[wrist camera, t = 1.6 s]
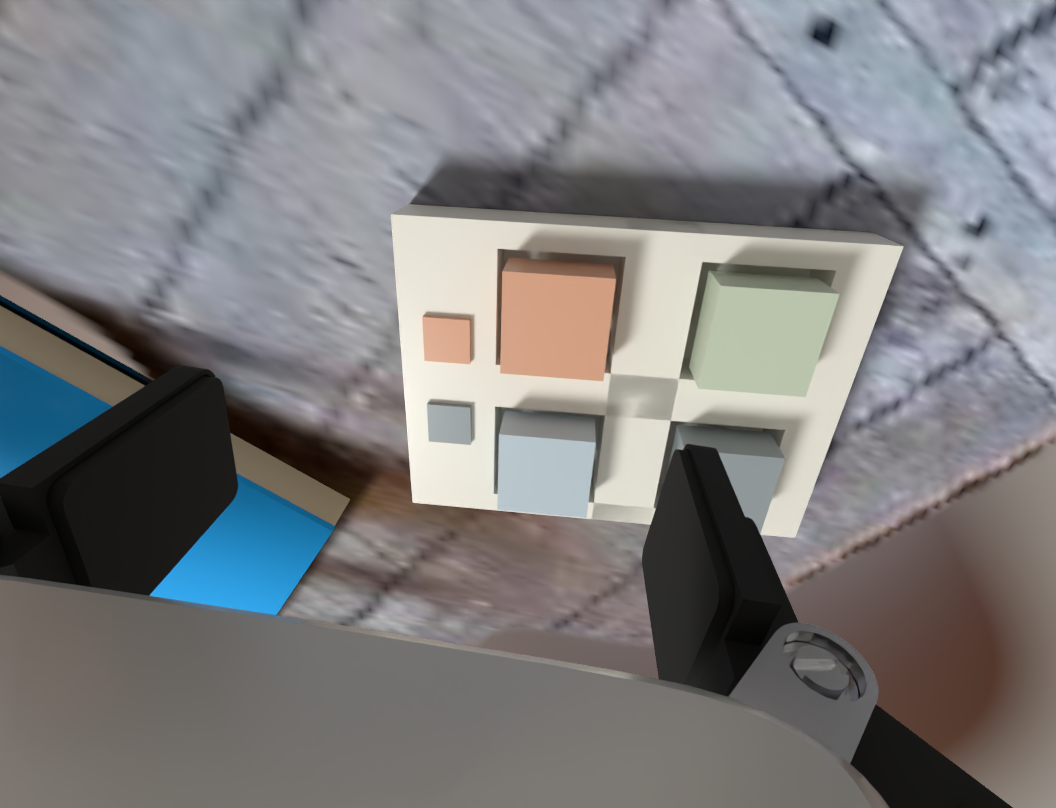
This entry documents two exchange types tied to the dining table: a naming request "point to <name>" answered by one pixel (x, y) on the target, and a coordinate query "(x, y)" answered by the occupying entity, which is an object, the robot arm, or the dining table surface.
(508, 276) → the key terracotta
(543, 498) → the key blue
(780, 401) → the keypad
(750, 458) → the key slate
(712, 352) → the key sage
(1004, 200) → the dining table surface
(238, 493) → the book
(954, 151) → the dining table surface
